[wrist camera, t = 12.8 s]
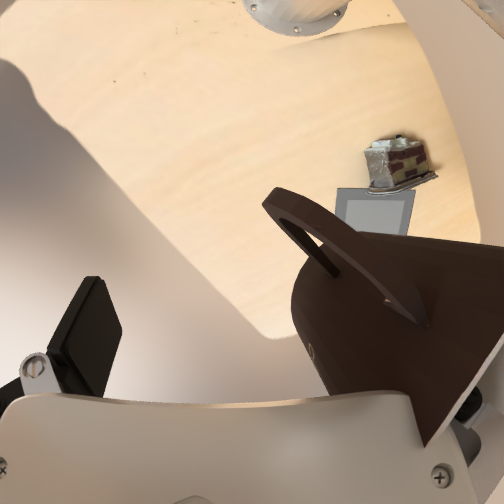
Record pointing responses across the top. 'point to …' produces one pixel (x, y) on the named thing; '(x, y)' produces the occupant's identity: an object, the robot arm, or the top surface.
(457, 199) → the top surface
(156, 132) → the top surface
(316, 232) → the coffee mug
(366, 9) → the top surface
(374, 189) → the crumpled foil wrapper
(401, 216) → the mat
